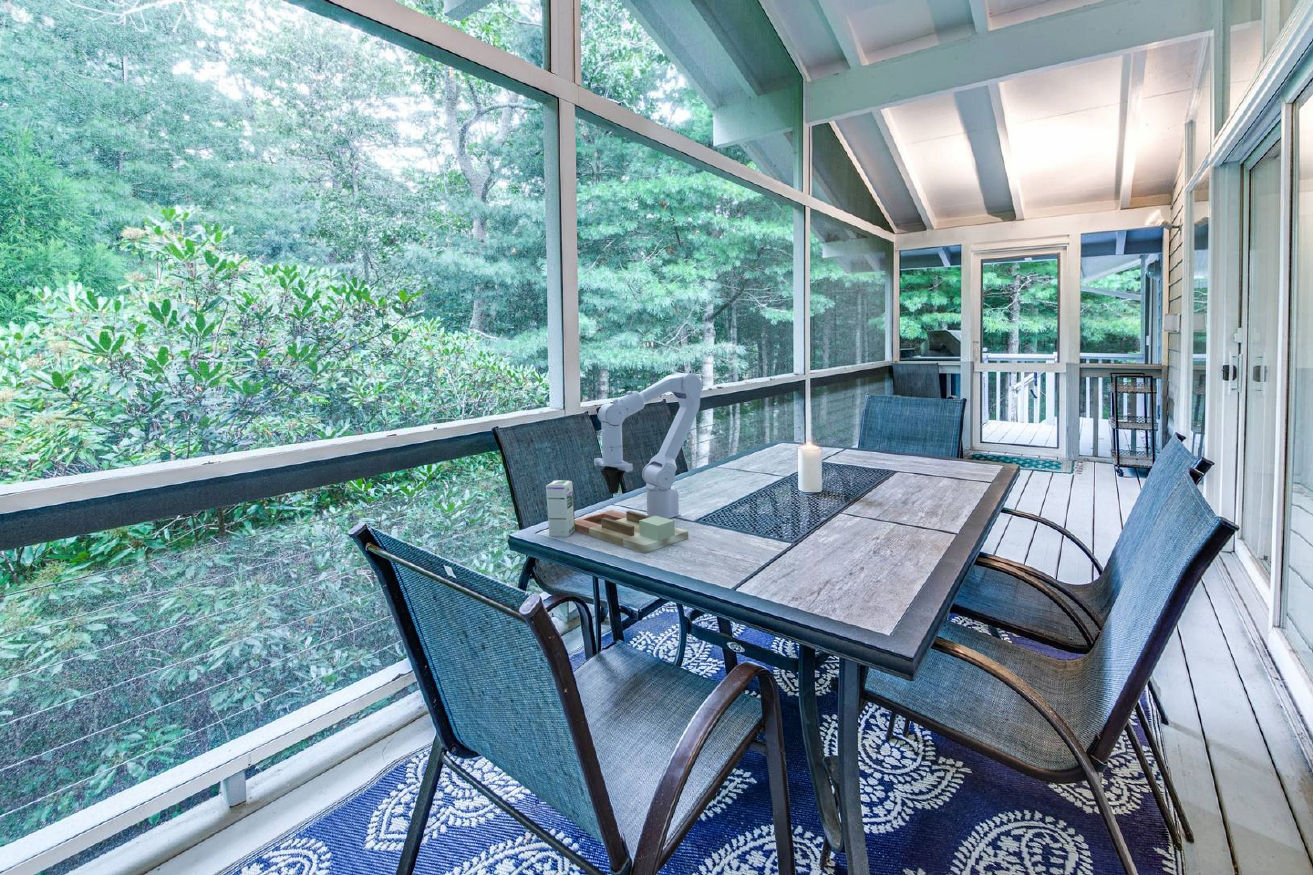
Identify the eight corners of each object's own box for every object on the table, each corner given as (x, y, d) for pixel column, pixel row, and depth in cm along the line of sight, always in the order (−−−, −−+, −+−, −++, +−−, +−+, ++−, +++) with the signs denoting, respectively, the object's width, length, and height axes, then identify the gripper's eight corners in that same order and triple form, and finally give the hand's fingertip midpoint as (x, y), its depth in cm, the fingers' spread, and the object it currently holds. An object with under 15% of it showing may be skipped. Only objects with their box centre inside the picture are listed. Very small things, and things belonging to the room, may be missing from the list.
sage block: (655, 529, 168) (655, 515, 167) (674, 535, 163) (674, 520, 162) (639, 535, 164) (639, 520, 163) (658, 540, 159) (658, 525, 158)
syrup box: (568, 537, 170) (566, 485, 167) (548, 536, 171) (545, 484, 169) (575, 530, 175) (573, 480, 173) (555, 529, 176) (553, 479, 174)
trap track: (612, 516, 188) (611, 501, 188) (688, 538, 166) (687, 521, 166) (569, 528, 177) (568, 513, 177) (644, 553, 155) (644, 536, 155)
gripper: (585, 445, 179) (586, 491, 181) (618, 451, 168) (620, 499, 171) (604, 442, 184) (605, 487, 186) (637, 447, 173) (639, 495, 175)
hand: (613, 492), depth 178 cm, fingers closed
